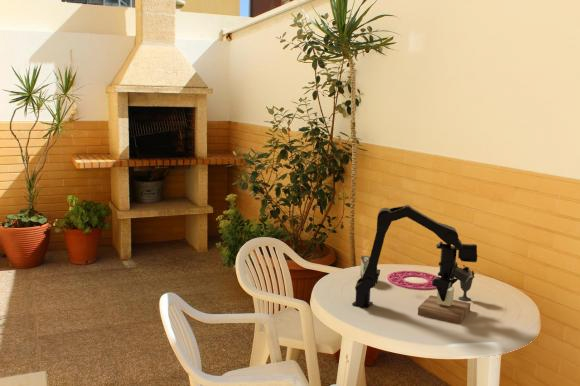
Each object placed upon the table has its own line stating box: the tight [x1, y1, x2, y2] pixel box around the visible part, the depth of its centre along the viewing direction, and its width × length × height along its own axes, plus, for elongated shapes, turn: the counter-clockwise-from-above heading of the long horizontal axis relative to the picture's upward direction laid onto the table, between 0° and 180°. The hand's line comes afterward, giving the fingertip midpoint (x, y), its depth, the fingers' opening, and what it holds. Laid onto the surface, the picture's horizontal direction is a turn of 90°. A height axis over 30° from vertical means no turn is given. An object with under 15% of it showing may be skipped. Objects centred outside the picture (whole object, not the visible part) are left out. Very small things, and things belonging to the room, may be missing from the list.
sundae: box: [458, 264, 476, 302], centre depth 234 cm, size 7×7×15 cm
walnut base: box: [417, 294, 472, 325], centre depth 220 cm, size 16×16×3 cm
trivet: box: [386, 270, 439, 291], centre depth 258 cm, size 25×25×1 cm
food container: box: [359, 254, 370, 278], centre depth 256 cm, size 12×6×10 cm, turn 179°
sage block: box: [436, 286, 455, 306], centre depth 219 cm, size 5×5×6 cm
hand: (445, 299), depth 219 cm, fingers closed on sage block, 5 cm apart
